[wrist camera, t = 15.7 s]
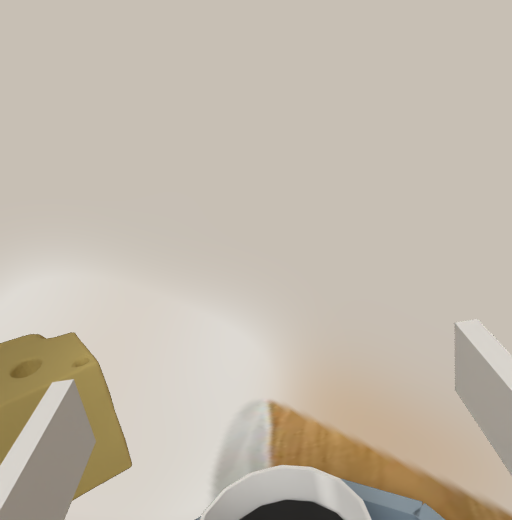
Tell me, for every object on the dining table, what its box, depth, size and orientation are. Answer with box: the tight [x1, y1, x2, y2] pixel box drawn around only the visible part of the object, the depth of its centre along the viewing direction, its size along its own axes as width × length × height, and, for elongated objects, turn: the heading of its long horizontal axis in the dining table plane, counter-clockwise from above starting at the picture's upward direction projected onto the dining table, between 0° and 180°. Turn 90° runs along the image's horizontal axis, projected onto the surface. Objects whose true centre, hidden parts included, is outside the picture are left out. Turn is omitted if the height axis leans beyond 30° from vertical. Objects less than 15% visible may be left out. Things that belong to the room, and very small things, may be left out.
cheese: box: [0, 333, 132, 501], centre depth 36 cm, size 10×11×10 cm
